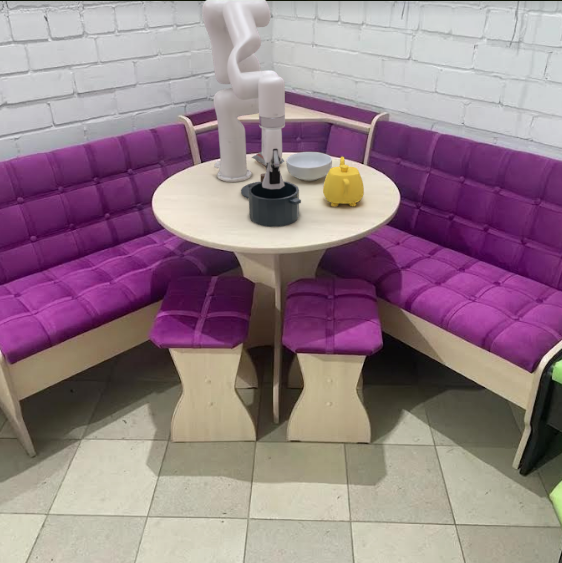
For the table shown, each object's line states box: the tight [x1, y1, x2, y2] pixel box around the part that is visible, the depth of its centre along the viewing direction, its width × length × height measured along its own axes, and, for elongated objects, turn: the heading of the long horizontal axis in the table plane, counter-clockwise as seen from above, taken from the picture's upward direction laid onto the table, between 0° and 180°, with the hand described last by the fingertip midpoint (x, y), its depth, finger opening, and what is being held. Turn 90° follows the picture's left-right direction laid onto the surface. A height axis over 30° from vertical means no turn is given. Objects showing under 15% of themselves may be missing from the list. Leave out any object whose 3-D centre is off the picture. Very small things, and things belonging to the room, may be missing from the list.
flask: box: [262, 159, 285, 189], centre depth 172 cm, size 7×7×10 cm
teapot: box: [322, 156, 365, 207], centre depth 187 cm, size 13×20×12 cm
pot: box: [247, 180, 302, 228], centre depth 177 cm, size 16×21×9 cm
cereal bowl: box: [285, 151, 333, 182], centre depth 207 cm, size 17×17×7 cm
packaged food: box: [251, 151, 285, 167], centre depth 220 cm, size 9×12×5 cm
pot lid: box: [240, 172, 266, 200], centre depth 194 cm, size 17×17×7 cm
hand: (273, 179), depth 173 cm, fingers closed on flask, 4 cm apart
